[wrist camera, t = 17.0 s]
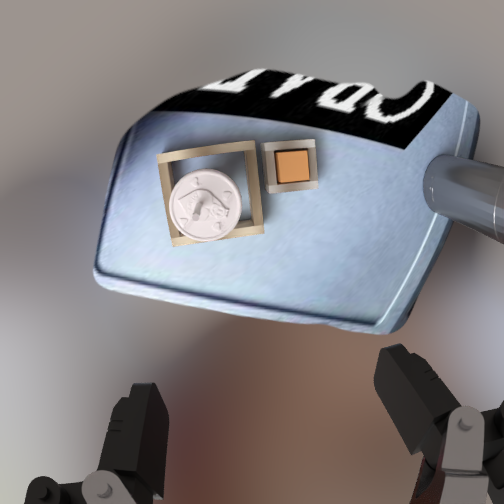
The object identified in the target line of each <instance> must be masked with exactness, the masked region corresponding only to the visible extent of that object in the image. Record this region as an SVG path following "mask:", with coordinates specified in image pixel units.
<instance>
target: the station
mask: <svg viewBox="0 0 504 504" xmlns="http://www.w3.org/2000/svg"><path fill="white" fill-rule="evenodd" d="M260 146H261V155H262V165H263V174H264V184H265V190H266V191H267V192H268V193H269V194H273V193H281V192H290V191H300V190H309V189H318V174H317V160H316V148H315V139H303V140H288V141H275V142H264V143H260ZM295 150H305V151H307V155H308V167H309V180H302V181H292V182H282V183H280V182H279V181H277V180H276V170H275V159H274V152H282V151H295ZM236 151H244V158H245V167H246V176H247V185H248V193H249V202H250V211H251V219H250V220H243V221H238V223H237V224H236V226H235V227H234V229H233V230H232V231H231V232H229V233H228V234H227V235H226V236H224V237H222V238H220V239H217V240H222V239H229V238H236V237H243V236H250V235H257V234H264V224H263V215H262V205H261V195H260V186H259V176H258V167H257V158H256V148H255V140H250V141H241V142H233V143H225V144H217V145H210V146H203V147H197V148H191V149H185V150H179V151H173V152H168V153H162V154H157V161H158V168H159V174H160V180H161V186H162V192H163V198H164V204H165V209H166V215H167V220H168V225H169V230H170V235H171V240H172V245H173V247H175V246H181V245H188V244H195V243H201V242H208V241H197V240H193V239H191V238H189V237H187V236H185V235H184V234H182V233H181V232H180V231H179V230H178V229H177V228H176V226H175V225H174V223H173V221H172V219H171V216H170V211H169V200H170V196H171V193H172V191H173V189H174V187H175V183H174V177H173V170H172V163H171V161H176V160H182V159H188V158H194V157H200V156H207V155H214V154H221V153H229V152H236ZM214 241H215V240H214Z"/></svg>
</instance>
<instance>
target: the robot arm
mask: <svg viewBox="0 0 504 504" xmlns="http://www.w3.org/2000/svg"><path fill="white" fill-rule="evenodd" d="M423 188H424V196H425V199H426V202H427V204H428V206H429V207H430V208H431V209H432V210H433V211H434V212H436V213H438V214H440V215H443V216H445V217H447V218H449V219H451V220H454V221H456V222H458V223H460V224H463V225H465V226H467V227H469V228H471V229H474V230H476V231H478V232H480V233H482V234H484V235H486V236H488V237H490V238H492V239H494V240H496V241H498V242H500V243H502V244H504V167H502V166H498V165H493V164H488V163H484V162H479V161H475V160H470V159H465V158H460V157H454V156H448V155H441V156H438V157H436V158H435V159H434V160H433V161H432V162H431V163H430V165H429V166H428V168H427V170H426V173H425V177H424V184H423ZM374 386H375V390H376V392H377V394H378V396H379V397H380V399H381V401H382V403H383V404H384V406H385V408H386V410H387V412H388V413H389V415H390V417H391V419H392V420H393V422H394V424H395V426H396V428H397V429H398V432H399V433H400V435H401V437H402V439H403V441H404V443H405V444H406V446H407V448H408V450H409V452H410V454H411V455H413V454H415V453H418V452H420V451H422V453H423V455H424V456H423V458H422V462H421V466H420V470H419V473H418V477H417V481H416V484H415V488H414V491H413V494H412V497H411V500H410V502H409V504H485V502H486V496H487V492H488V494H489V496H490V498H491V500H492V503H493V504H504V401H503V402H502V404H501V405H500V407H499V408H497V409H492V410H488V411H483V412H479V411H478V410H477V409H475V408H473V407H470V406H461V405H460V403H459V402H458V401H457V400H456V398H455V397H454V396H453V394H452V393H451V392H450V390H449V389H448V388H447V386H446V385H445V384H444V383H443V381H442V380H441V379H440V378H438V375H437V374H436V372H435V371H433V369H432V367H431V366H430V365H429V364H428V362H427V361H426V360H425V359H423V358H422V357H420V356H419V355H417V354H415V353H412V354H410V353H409V352H408V351H407V349H406V348H405V347H404V346H403V345H402V344H396V345H392V346H389V347H385V348H382V349H381V350H380V353H379V357H378V362H377V366H376V370H375V374H374ZM168 431H169V414H168V410H167V408H166V405H165V403H164V401H163V399H162V397H161V395H160V392H159V390H158V388H157V386H156V384H155V383H134V384H133V385H132V387H131V391H130V395H129V397H128V398H127V397H122V398H121V399H120V400H119V401H118V403H117V404H116V405H115V407H114V408H113V412H112V415H111V418H110V422H109V426H108V432H107V433H106V438H105V441H104V446H103V449H102V453H101V457H100V462H99V466H98V469H97V471H95V472H93V473H91V474H89V475H88V476H87V477H86V478H85V480H84V481H82V482H77V483H68V484H58V483H57V482H55V481H54V480H53V479H51V478H50V477H45V476H41V477H37V478H35V479H34V480H32V482H31V483H30V484H29V486H28V490H27V493H26V498H25V503H24V504H153V499H162V500H163V497H164V480H165V467H166V454H167V442H168Z"/></svg>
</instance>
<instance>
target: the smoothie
mask: <svg viewBox="0 0 504 504" xmlns="http://www.w3.org/2000/svg"><path fill="white" fill-rule="evenodd" d="M169 211H170V216H171V219H172V221H173V223H174V225H175V226H176V228H177V229H178V230H179V231H180V232H181V233H182V234H184V235H185V236H187V237H189V238H191V239H193V240H197V241H214V240H217V239H220V238H222V237H224V236H226V235H227V234H228V233H229V232H231V231H232V230H233V229H234V227H235V226H236V224H237V223H238V221H239V218H240V216H241V211H242V199H241V194H240V191H239V189H238V187H237V185H236V184H235V182H234V181H233V180H232V179H231V178H230V177H229V176H227V175H226V174H225V173H222V172H220V171H218V170H214V169H207V168H206V169H198V170H195V171H192V172H190V173H188V174H186V175H185V176H184V177H182V178H181V179H180V180H179V181H178V183H177V184H176V185H175V187H174V189H173V191H172V193H171V196H170V200H169Z"/></svg>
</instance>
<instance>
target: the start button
mask: <svg viewBox="0 0 504 504" xmlns="http://www.w3.org/2000/svg"><path fill="white" fill-rule="evenodd" d="M274 159H275V170H276V180H277V181H279V182H280V183H282V182H292V181H302V180H309V167H308V155H307V151H305V150H295V151H282V152H274Z"/></svg>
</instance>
